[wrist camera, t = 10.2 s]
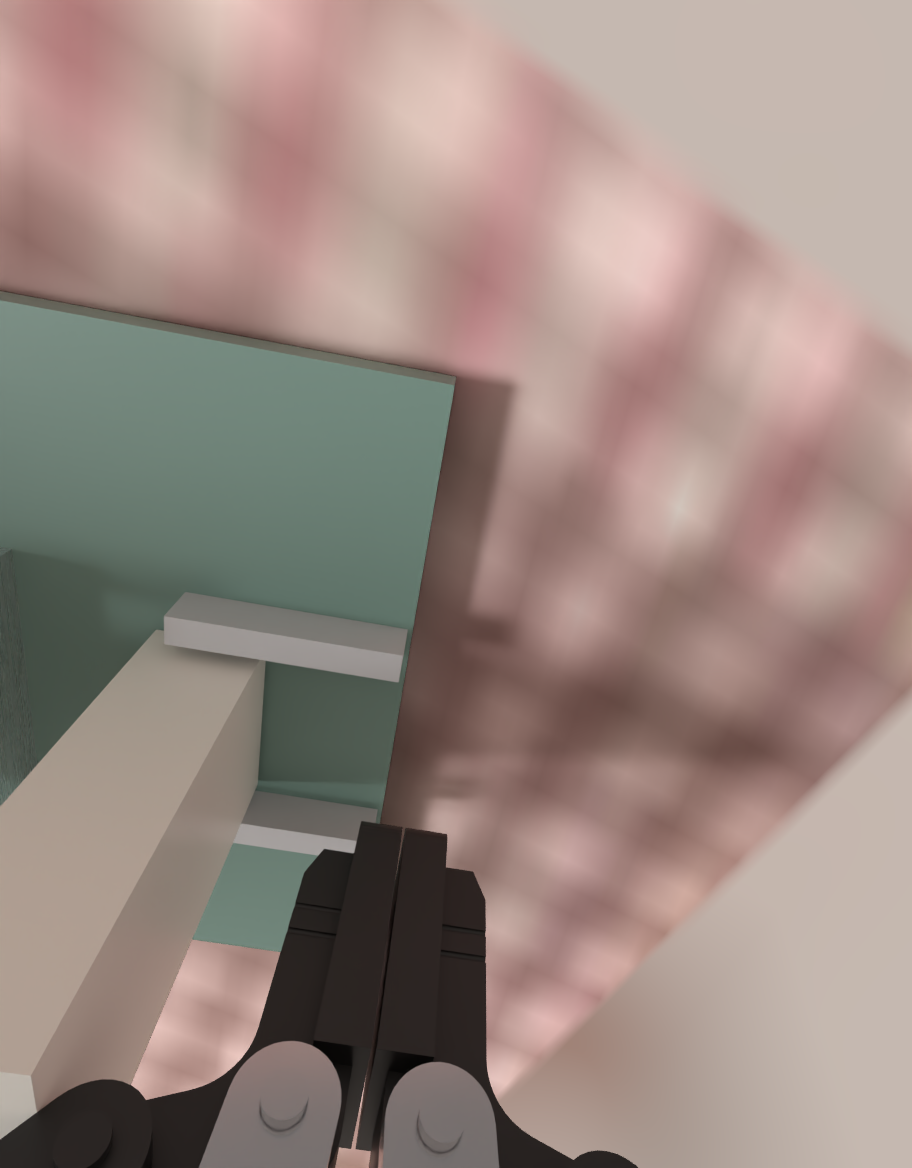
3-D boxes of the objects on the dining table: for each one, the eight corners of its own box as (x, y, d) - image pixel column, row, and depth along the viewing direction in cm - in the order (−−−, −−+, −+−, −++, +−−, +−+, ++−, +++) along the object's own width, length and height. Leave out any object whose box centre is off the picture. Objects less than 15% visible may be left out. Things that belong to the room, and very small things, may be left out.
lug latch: (62, 754, 15) (-322, 1207, 8) (49, 611, 13) (-447, 1013, 6) (258, 784, 15) (60, 1253, 8) (266, 647, 14) (30, 1076, 6)
